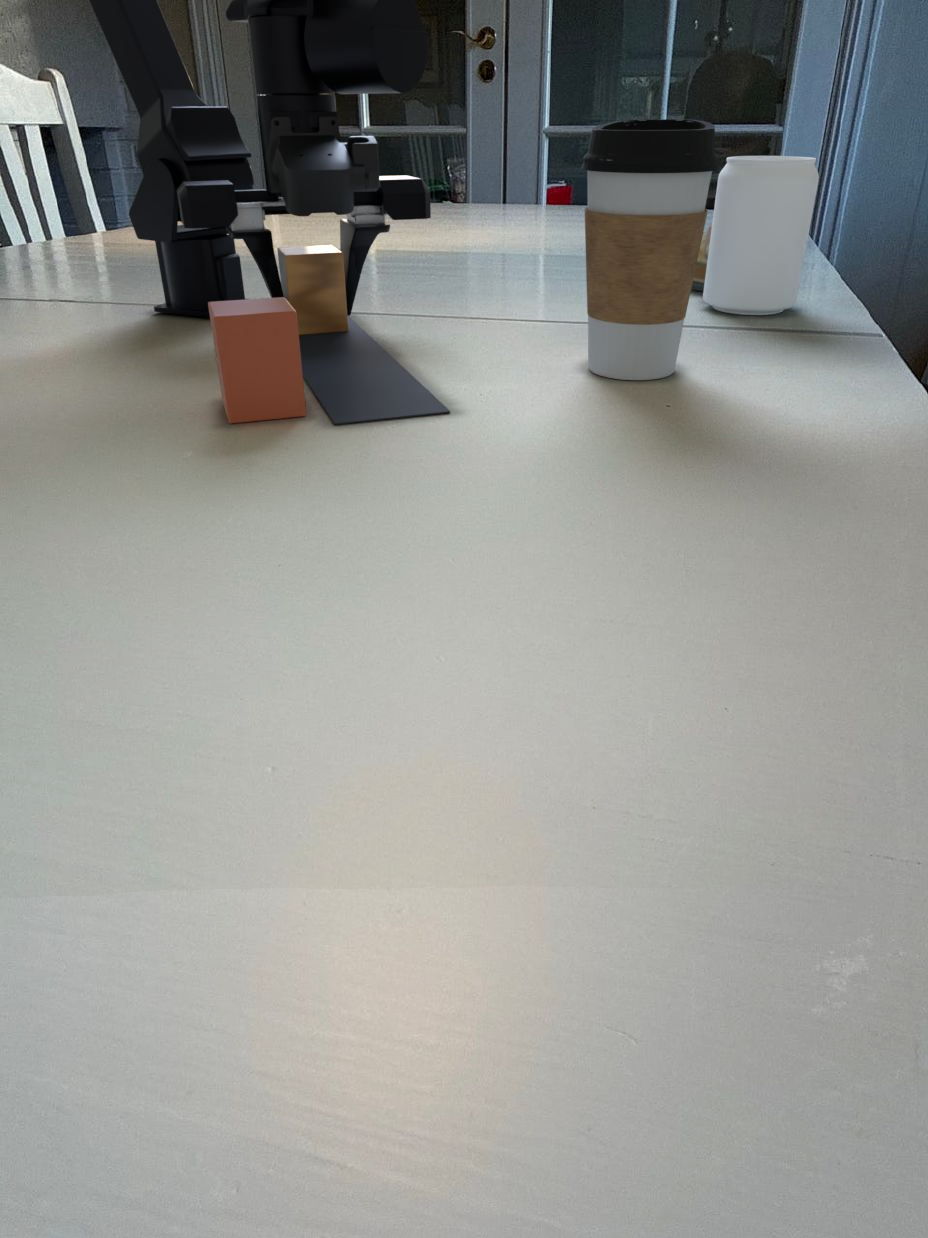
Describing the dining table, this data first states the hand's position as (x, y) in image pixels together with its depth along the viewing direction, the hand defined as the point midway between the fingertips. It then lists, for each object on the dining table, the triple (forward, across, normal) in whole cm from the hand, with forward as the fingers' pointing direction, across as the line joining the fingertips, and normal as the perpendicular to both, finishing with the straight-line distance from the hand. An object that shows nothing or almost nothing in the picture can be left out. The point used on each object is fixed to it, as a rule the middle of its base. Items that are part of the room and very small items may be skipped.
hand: (315, 316), depth 71 cm
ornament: (+1, +42, +5) cm, 42 cm away
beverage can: (+1, +38, -5) cm, 39 cm away
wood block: (+1, 0, 0) cm, 1 cm away
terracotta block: (+1, -7, -21) cm, 22 cm away
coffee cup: (+1, +18, -20) cm, 27 cm away
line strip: (+1, 0, -11) cm, 11 cm away
